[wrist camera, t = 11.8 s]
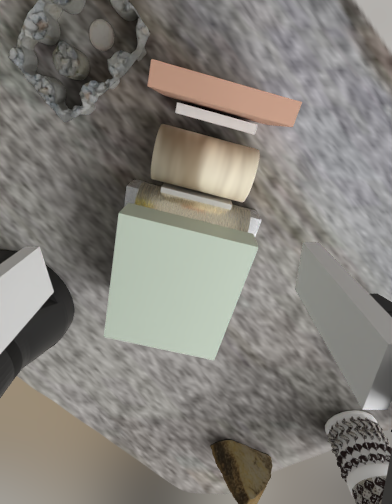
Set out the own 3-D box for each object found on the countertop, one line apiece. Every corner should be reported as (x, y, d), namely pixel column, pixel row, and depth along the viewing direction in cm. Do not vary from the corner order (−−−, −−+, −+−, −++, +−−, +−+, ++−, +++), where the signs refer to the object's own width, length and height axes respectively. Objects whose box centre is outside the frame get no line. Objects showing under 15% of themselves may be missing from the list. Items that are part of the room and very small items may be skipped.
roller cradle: (165, 186, 29) (159, 194, 26) (181, 104, 25) (177, 102, 22) (227, 202, 29) (229, 212, 26) (251, 124, 26) (257, 124, 22)
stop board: (166, 96, 25) (147, 85, 17) (169, 78, 24) (151, 58, 17) (267, 125, 26) (292, 127, 18) (273, 107, 25) (301, 102, 17)
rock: (290, 468, 48) (265, 449, 43) (275, 527, 44) (245, 514, 39) (242, 441, 56) (216, 423, 51) (225, 489, 52) (196, 474, 47)
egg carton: (104, -43, 21) (82, -78, 17) (163, 51, 24) (155, 38, 20) (19, 53, 24) (-14, 41, 20) (80, 128, 27) (60, 129, 23)
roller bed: (119, 291, 35) (106, 316, 31) (135, 174, 28) (121, 184, 24) (218, 313, 36) (220, 341, 31) (257, 205, 29) (266, 221, 25)
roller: (159, 168, 28) (148, 187, 24) (166, 118, 25) (155, 130, 21) (239, 189, 29) (242, 211, 25) (256, 143, 26) (262, 159, 22)
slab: (113, 317, 31) (103, 336, 28) (128, 202, 24) (118, 212, 22) (213, 339, 31) (214, 360, 29) (253, 233, 25) (258, 247, 23)
